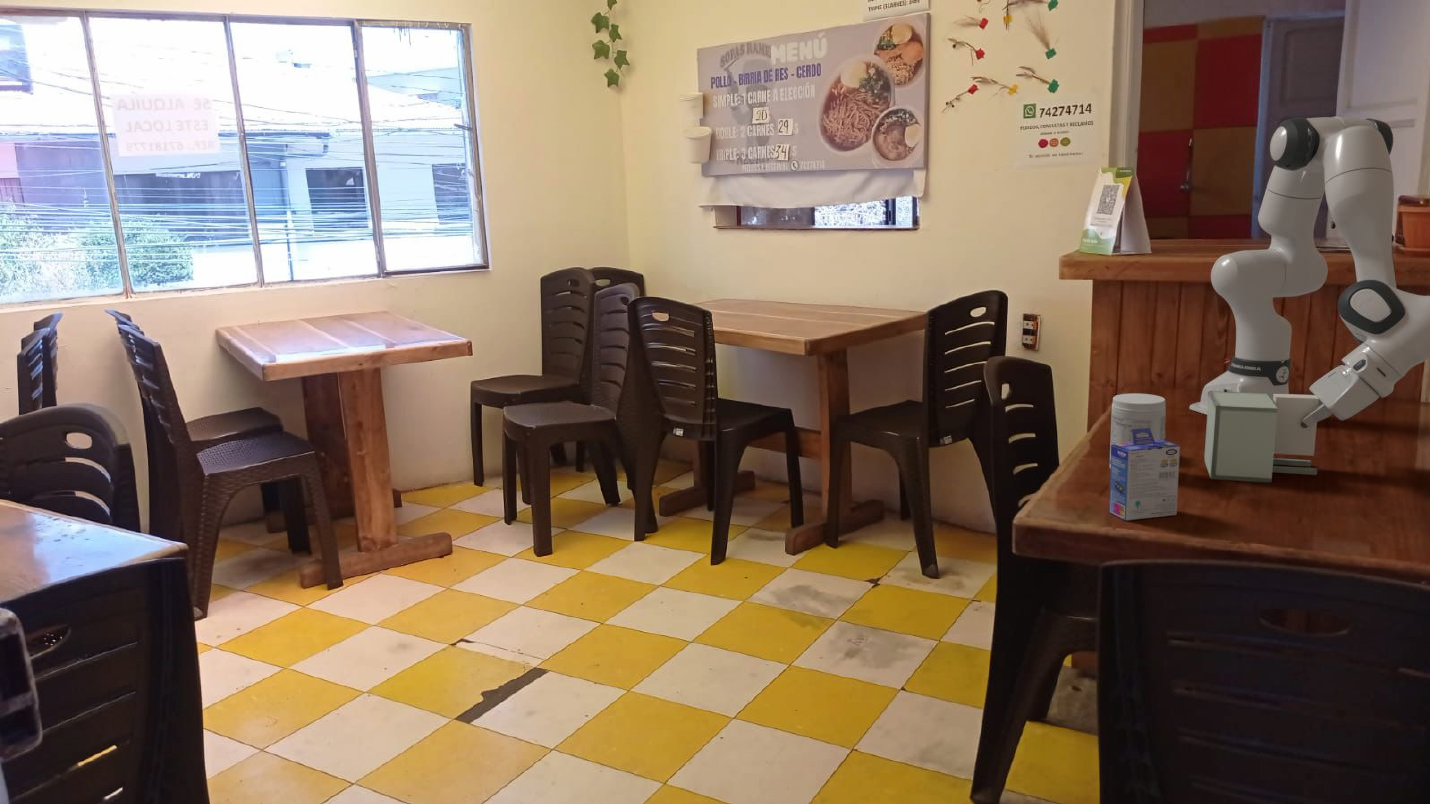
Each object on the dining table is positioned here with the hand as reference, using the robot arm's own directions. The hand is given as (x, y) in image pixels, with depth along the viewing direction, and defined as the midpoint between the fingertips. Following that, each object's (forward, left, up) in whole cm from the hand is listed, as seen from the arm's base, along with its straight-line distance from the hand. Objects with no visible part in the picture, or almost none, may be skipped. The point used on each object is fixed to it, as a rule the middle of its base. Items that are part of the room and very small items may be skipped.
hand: (1302, 420), depth 187 cm
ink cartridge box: (+8, -45, -10) cm, 47 cm away
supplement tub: (-12, -28, -10) cm, 32 cm away
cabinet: (-2, -7, -10) cm, 12 cm away
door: (-1, -1, -6) cm, 7 cm away
